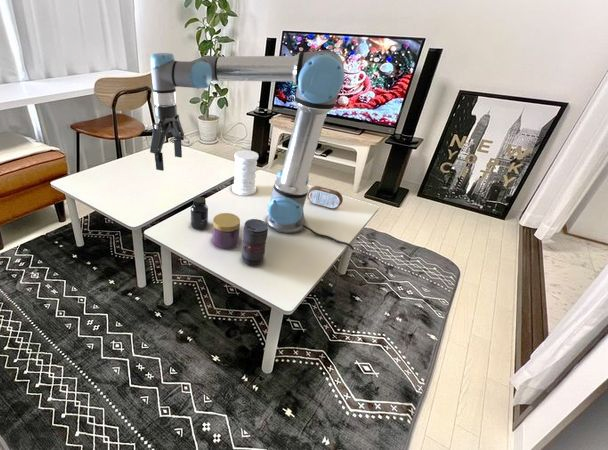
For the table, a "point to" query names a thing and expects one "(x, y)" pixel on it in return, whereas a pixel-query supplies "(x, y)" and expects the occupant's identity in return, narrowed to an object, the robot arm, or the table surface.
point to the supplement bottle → (199, 214)
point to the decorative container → (245, 172)
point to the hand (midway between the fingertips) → (169, 163)
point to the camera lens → (254, 241)
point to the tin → (325, 197)
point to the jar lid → (226, 222)
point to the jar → (226, 238)
